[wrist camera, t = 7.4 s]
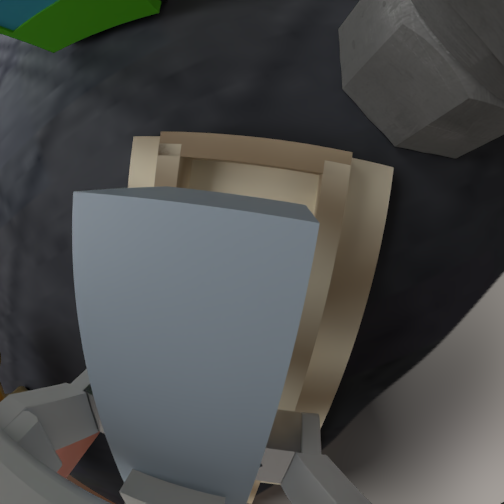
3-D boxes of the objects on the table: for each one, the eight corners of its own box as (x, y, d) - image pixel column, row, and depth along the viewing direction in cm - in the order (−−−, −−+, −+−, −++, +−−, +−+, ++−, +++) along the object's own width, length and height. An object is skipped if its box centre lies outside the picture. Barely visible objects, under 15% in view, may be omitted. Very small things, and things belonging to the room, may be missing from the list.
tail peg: (79, 389, 18) (25, 445, 11) (107, 402, 18) (55, 467, 10) (86, 412, 19) (40, 467, 11) (113, 424, 19) (69, 486, 11)
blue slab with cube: (166, 186, 8) (31, 196, 3) (305, 204, 8) (328, 235, 3) (167, 450, 11) (129, 526, 6) (248, 470, 10) (228, 555, 6)
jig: (143, 138, 13) (103, 129, 10) (386, 168, 12) (416, 164, 8) (150, 445, 19) (135, 473, 15) (292, 476, 17) (289, 509, 14)
